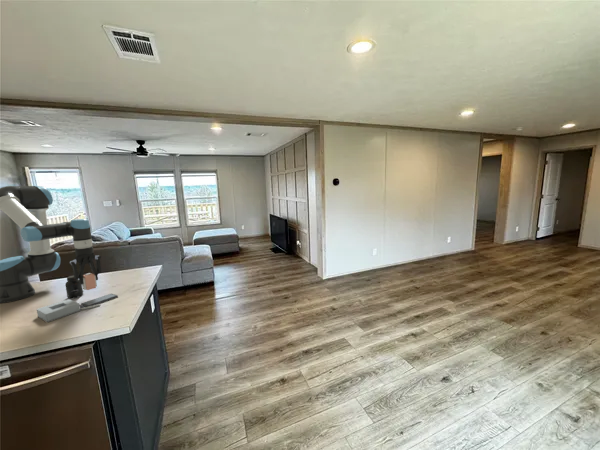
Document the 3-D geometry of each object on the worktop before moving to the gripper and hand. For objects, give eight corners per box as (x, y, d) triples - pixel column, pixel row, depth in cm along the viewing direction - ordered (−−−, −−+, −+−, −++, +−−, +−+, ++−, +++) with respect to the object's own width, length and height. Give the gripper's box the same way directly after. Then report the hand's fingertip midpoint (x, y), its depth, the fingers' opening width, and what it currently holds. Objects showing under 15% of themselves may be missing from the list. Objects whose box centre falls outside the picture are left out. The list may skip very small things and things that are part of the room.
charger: (84, 288, 136) (81, 274, 134) (92, 286, 139) (90, 272, 138) (87, 290, 134) (85, 275, 132) (96, 287, 137) (93, 273, 136)
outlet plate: (38, 316, 117) (36, 309, 117) (70, 306, 128) (68, 299, 127) (47, 322, 112) (45, 314, 111) (80, 310, 122) (78, 303, 121)
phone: (81, 305, 128) (80, 303, 128) (111, 295, 140) (111, 293, 140) (87, 308, 125) (86, 306, 125) (117, 297, 137) (117, 295, 137)
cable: (79, 310, 122) (78, 308, 122) (79, 309, 123) (79, 308, 123) (100, 306, 126) (100, 304, 126) (100, 305, 127) (100, 303, 127)
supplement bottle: (73, 299, 136) (70, 278, 135) (64, 298, 138) (60, 278, 136) (86, 294, 143) (83, 274, 141) (77, 293, 145) (74, 274, 143)
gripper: (66, 251, 124) (73, 294, 127) (105, 244, 138) (110, 283, 142) (60, 250, 127) (67, 292, 131) (99, 243, 142) (104, 281, 145)
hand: (90, 287), depth 136 cm, fingers closed on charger, 4 cm apart
